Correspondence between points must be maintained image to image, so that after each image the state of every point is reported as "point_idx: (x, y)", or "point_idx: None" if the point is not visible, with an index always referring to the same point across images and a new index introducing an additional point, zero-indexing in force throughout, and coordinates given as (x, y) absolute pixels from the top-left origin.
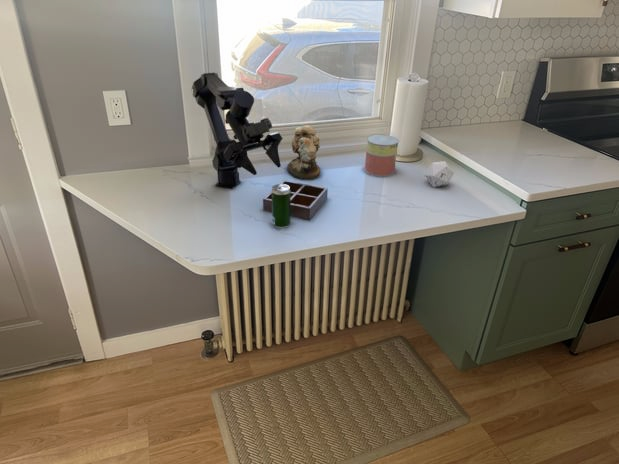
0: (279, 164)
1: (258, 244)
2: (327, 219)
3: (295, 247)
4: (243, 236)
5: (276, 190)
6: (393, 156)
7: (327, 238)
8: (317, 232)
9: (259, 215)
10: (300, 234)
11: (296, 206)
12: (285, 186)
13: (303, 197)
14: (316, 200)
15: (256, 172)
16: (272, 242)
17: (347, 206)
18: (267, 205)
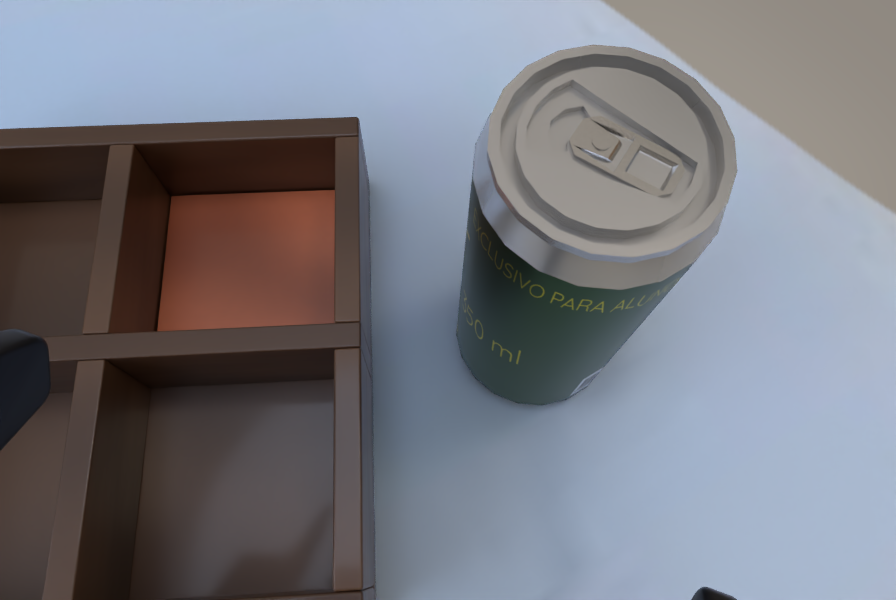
0: (18, 341)
1: (873, 352)
2: (298, 88)
3: (743, 127)
4: (861, 522)
5: (727, 155)
6: None
7: (537, 13)
8: (499, 83)
9: (475, 596)
10: None
11: (360, 235)
12: (529, 121)
13: (128, 272)
14: (186, 126)
15: (710, 595)
16: (787, 277)
17: (48, 40)
18: (368, 560)
